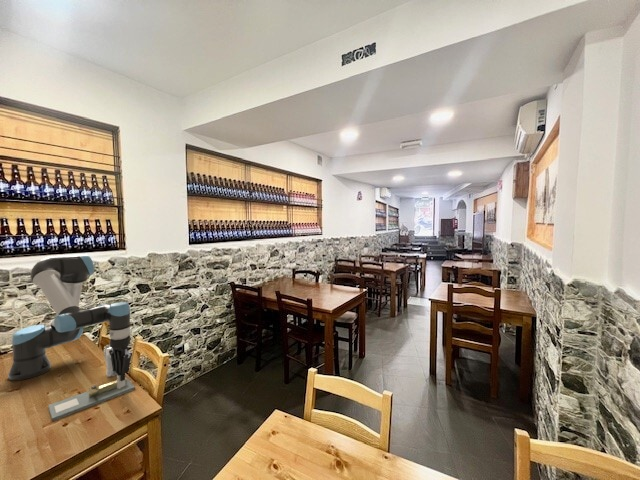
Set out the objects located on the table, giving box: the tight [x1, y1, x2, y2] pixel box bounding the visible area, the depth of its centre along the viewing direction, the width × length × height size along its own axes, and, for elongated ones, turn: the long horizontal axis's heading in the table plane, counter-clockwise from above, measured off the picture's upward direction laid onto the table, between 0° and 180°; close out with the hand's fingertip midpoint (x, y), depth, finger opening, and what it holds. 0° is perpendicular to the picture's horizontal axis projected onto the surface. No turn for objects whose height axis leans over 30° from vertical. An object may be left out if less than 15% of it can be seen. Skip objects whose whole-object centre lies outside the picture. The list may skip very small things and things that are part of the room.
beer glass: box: [104, 343, 117, 378], centre depth 140 cm, size 7×7×15 cm
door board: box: [48, 377, 136, 422], centre depth 121 cm, size 12×28×1 cm, turn 140°
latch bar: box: [88, 377, 127, 397], centre depth 125 cm, size 4×14×4 cm, turn 140°
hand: (121, 386), depth 125 cm, fingers closed
